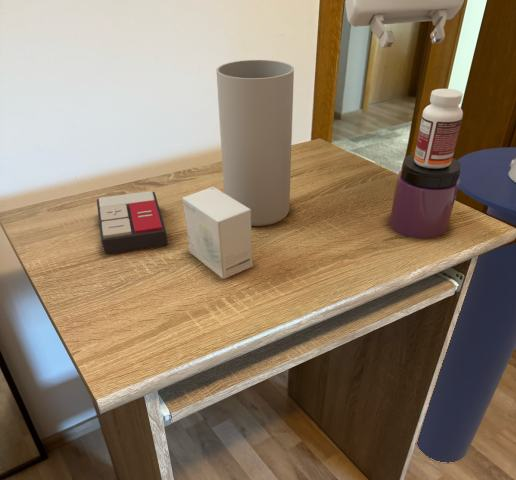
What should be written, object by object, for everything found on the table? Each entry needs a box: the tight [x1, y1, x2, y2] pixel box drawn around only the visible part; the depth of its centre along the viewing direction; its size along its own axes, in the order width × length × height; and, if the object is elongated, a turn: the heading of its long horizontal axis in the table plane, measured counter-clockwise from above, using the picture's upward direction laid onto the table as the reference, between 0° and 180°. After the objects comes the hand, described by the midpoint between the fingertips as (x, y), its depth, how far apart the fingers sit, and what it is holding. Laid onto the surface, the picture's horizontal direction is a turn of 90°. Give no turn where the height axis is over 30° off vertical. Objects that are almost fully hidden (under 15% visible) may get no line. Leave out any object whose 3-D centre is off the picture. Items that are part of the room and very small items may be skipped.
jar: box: [389, 170, 460, 240], centre depth 87 cm, size 10×10×11 cm
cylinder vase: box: [215, 59, 295, 227], centre depth 87 cm, size 12×12×25 cm
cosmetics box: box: [182, 186, 254, 280], centre depth 79 cm, size 10×6×10 cm, turn 37°
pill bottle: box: [414, 88, 464, 169], centre depth 79 cm, size 6×6×11 cm
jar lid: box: [400, 153, 461, 188], centre depth 84 cm, size 10×10×2 cm
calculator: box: [96, 190, 168, 255], centre depth 89 cm, size 11×4×15 cm
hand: (413, 43), depth 81 cm, fingers open, 8 cm apart
